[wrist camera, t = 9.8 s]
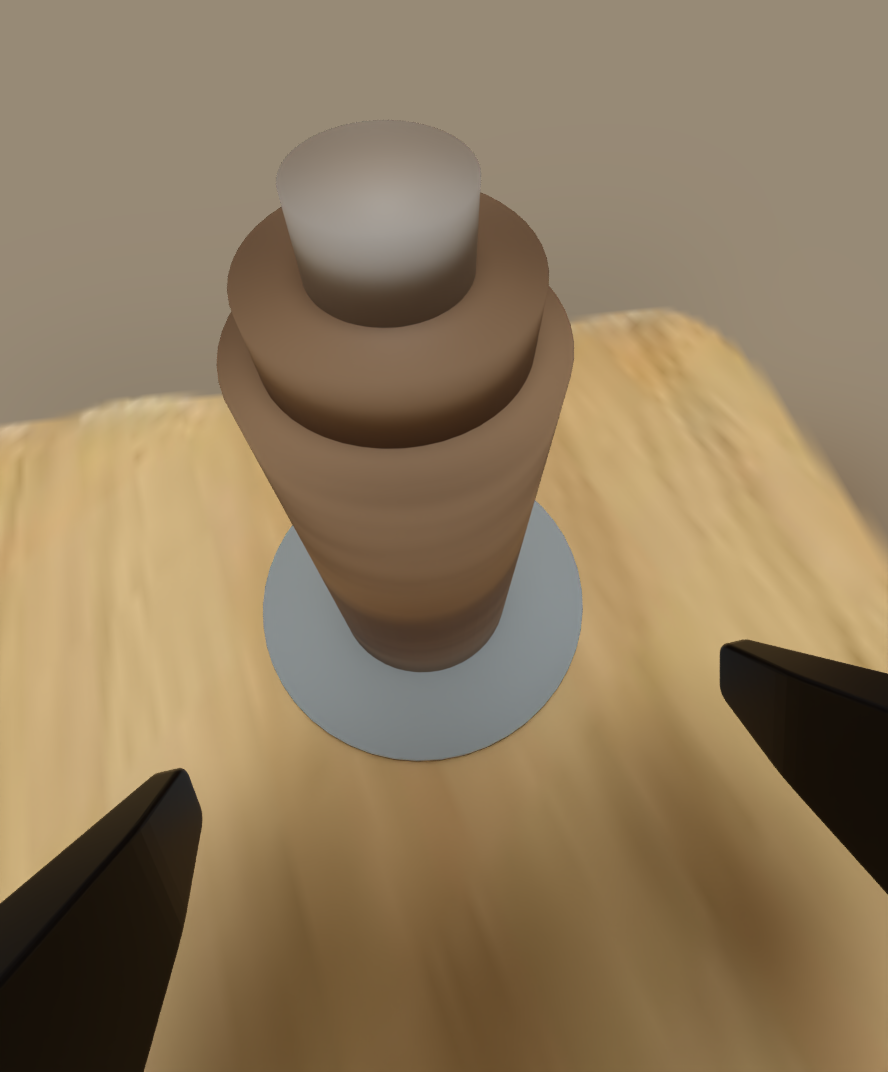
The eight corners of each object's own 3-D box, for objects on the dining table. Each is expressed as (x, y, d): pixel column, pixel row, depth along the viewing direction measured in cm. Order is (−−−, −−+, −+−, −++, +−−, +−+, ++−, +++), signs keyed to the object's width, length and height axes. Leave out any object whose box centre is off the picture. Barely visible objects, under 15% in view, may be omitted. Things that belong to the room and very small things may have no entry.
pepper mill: (524, 652, 17) (704, 295, 5) (354, 689, 16) (114, 387, 5) (482, 508, 20) (537, 43, 8) (333, 536, 19) (145, 85, 7)
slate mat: (548, 808, 15) (551, 808, 15) (209, 704, 17) (204, 701, 16) (600, 499, 20) (602, 494, 20) (334, 439, 22) (333, 433, 21)
